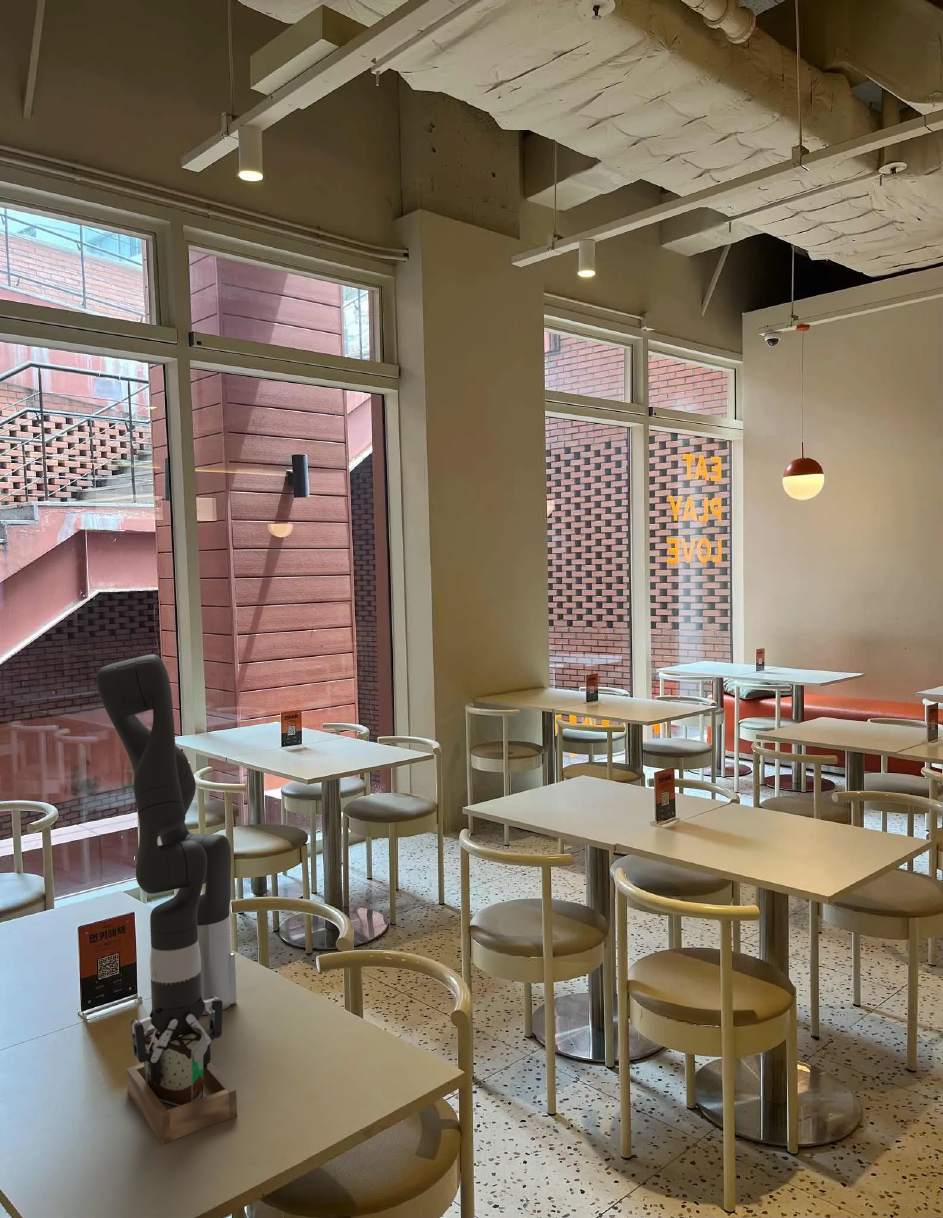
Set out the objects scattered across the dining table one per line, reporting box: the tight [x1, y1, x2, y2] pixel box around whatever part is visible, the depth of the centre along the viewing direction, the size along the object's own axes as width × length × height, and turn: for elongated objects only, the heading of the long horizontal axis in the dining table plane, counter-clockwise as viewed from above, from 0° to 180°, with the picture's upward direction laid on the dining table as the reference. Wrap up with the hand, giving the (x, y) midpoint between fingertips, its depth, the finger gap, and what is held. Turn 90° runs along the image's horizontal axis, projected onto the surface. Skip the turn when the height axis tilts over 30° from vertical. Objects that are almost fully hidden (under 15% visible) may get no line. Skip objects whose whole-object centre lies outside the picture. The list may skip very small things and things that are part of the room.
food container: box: [143, 1027, 207, 1106], centre depth 146 cm, size 12×6×10 cm, turn 61°
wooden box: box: [126, 1061, 238, 1145], centre depth 145 cm, size 11×17×4 cm, turn 36°
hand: (179, 1074), depth 145 cm, fingers closed on food container, 7 cm apart
